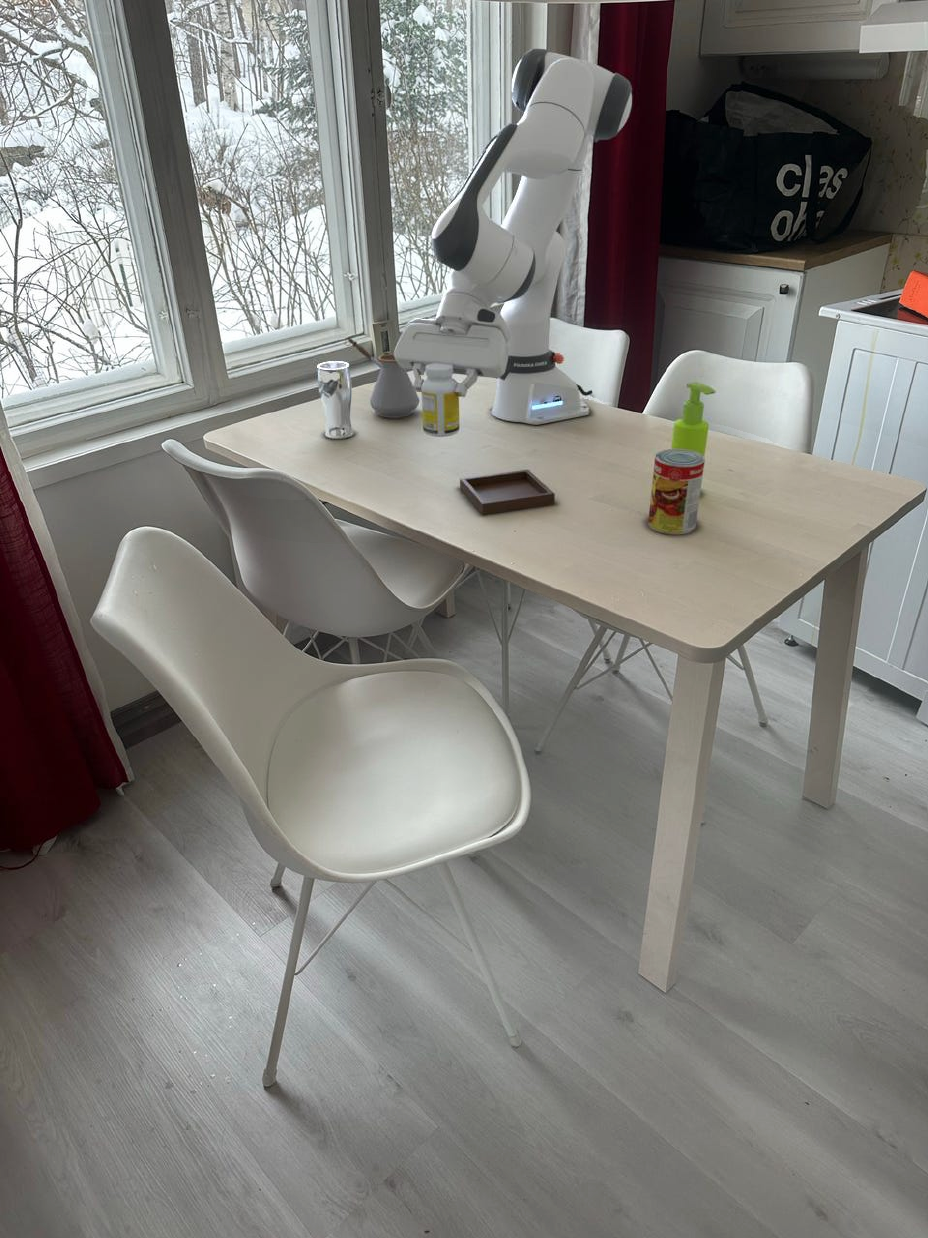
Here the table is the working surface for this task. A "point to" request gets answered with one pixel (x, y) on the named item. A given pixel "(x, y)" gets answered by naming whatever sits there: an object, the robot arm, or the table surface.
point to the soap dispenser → (692, 422)
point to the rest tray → (506, 492)
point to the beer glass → (336, 398)
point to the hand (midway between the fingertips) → (438, 392)
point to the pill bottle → (440, 401)
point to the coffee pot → (391, 387)
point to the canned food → (675, 491)
